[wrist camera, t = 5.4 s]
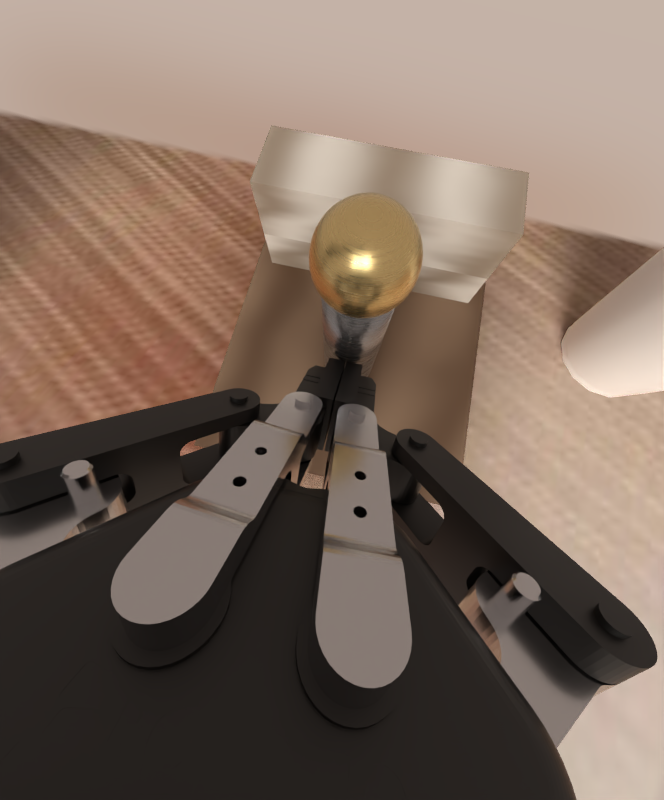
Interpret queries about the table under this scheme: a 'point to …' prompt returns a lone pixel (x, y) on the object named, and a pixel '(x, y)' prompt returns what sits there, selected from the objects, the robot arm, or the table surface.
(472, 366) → the board
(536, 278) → the table surface
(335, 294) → the gold knob lever
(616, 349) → the foam cup
